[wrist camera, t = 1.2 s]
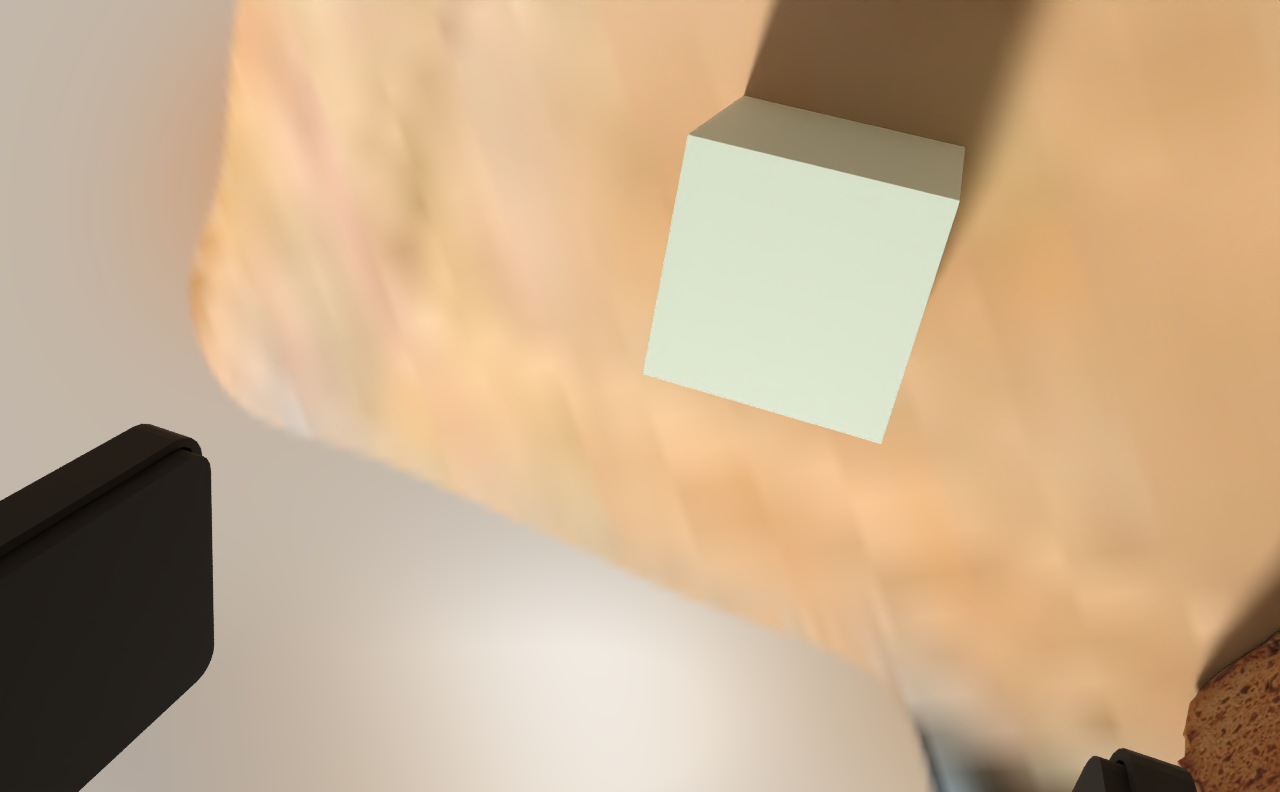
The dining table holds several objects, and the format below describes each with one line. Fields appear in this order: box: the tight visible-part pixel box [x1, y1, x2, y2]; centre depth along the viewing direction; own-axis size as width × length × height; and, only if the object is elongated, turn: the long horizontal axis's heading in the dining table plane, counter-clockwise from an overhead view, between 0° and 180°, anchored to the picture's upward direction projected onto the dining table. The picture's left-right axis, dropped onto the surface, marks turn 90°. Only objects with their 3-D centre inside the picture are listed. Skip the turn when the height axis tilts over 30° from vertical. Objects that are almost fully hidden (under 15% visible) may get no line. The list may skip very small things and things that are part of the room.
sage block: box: [643, 96, 965, 444], centre depth 26 cm, size 6×6×6 cm
